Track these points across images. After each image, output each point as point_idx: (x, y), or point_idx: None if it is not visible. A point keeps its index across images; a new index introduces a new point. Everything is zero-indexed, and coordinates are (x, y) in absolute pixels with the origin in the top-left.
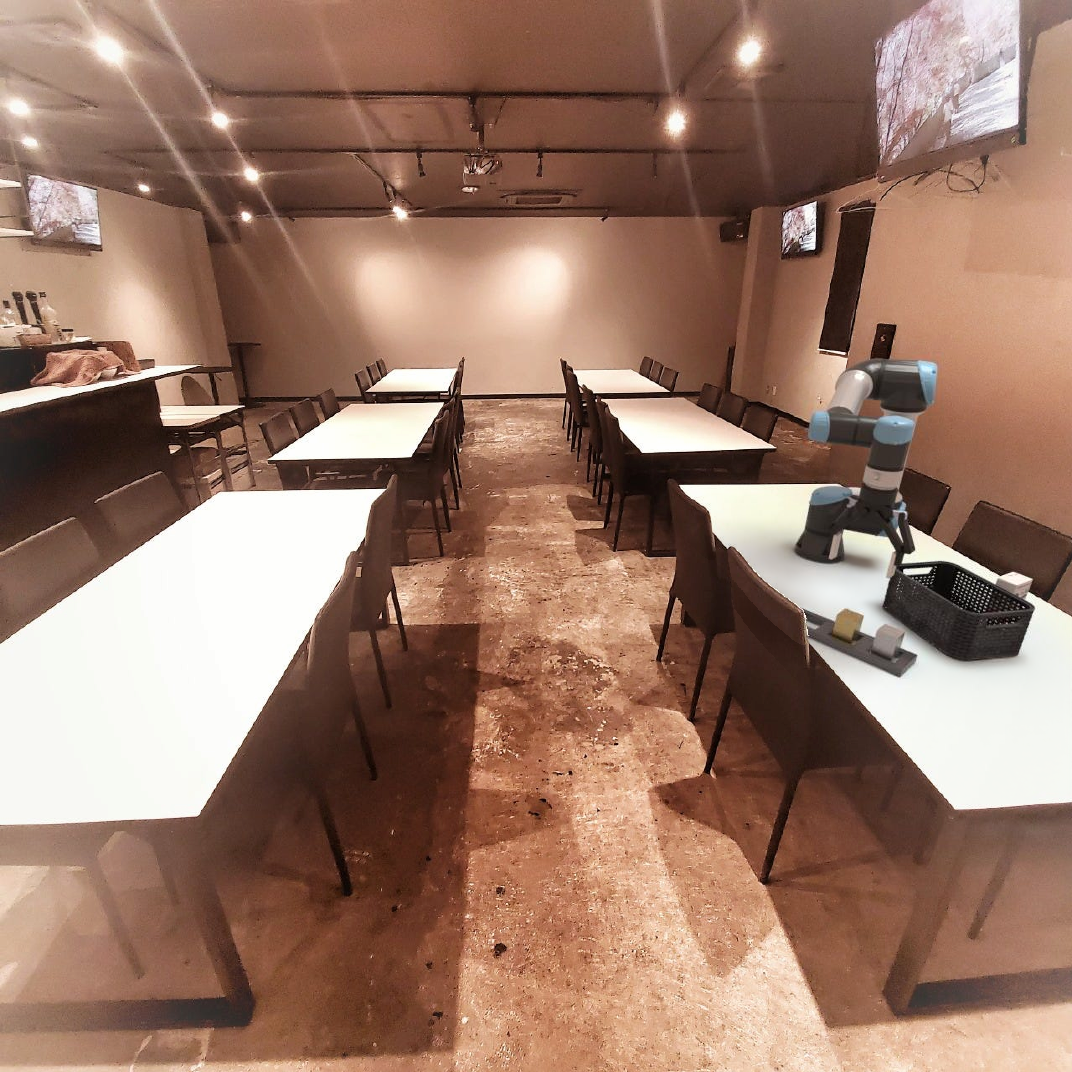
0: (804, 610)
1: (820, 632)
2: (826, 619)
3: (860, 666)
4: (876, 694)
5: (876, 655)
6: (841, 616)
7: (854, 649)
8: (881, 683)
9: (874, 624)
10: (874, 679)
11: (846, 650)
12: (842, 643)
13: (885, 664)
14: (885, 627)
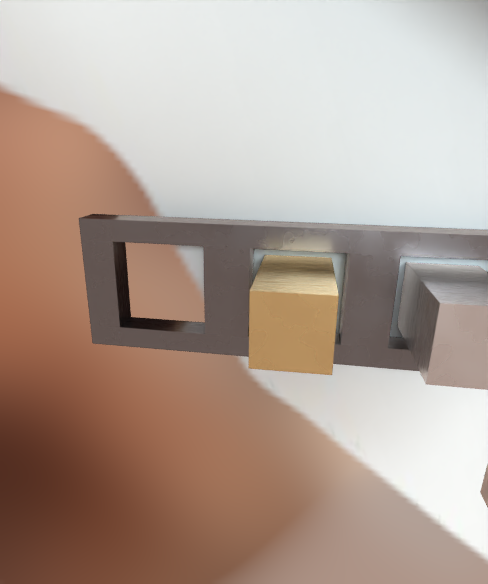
0: (109, 230)
1: (226, 340)
2: (196, 234)
3: (389, 389)
4: (466, 486)
5: None
6: (268, 369)
7: (353, 364)
8: (465, 432)
9: (334, 48)
10: (443, 426)
11: None
12: None
13: None
14: (451, 336)
